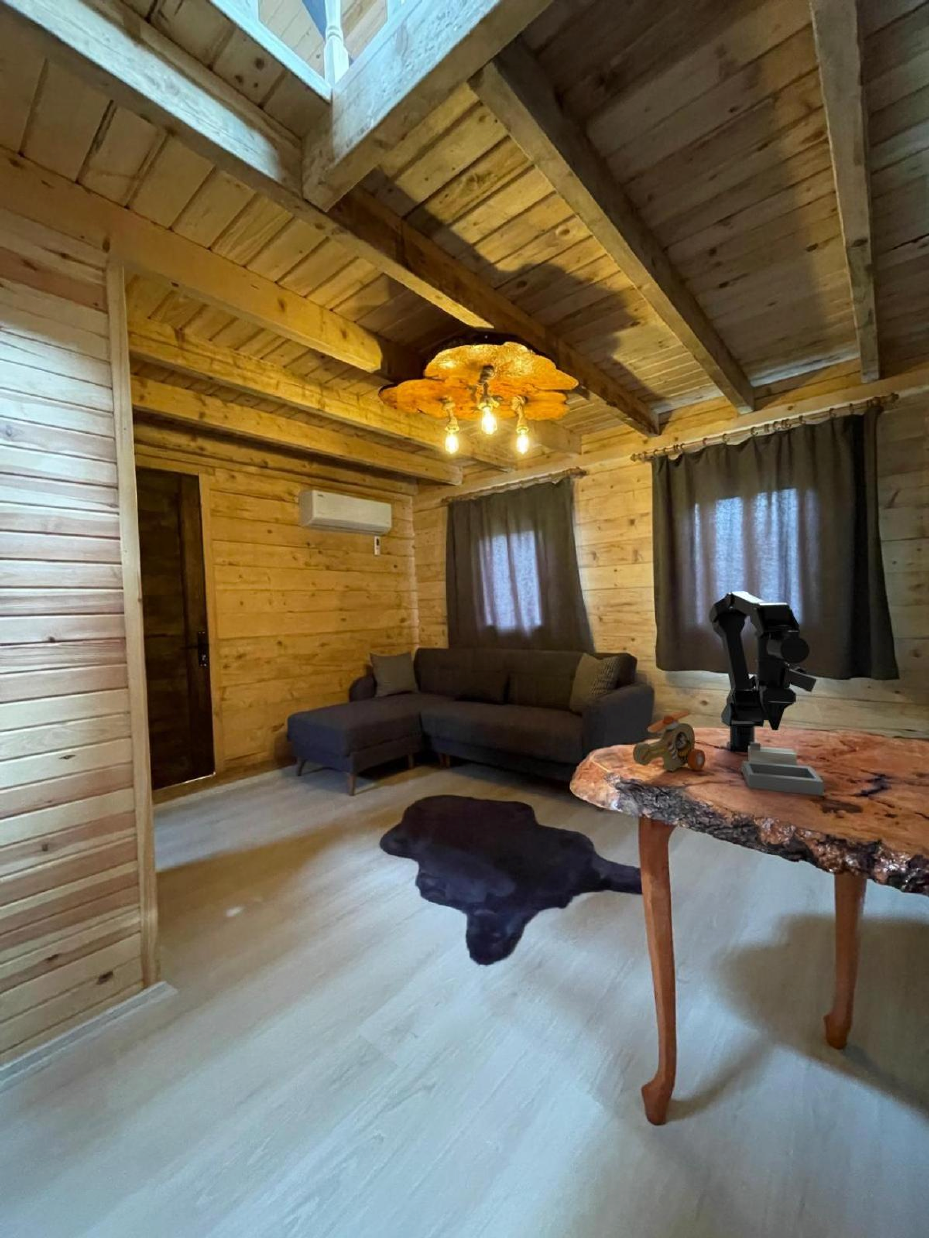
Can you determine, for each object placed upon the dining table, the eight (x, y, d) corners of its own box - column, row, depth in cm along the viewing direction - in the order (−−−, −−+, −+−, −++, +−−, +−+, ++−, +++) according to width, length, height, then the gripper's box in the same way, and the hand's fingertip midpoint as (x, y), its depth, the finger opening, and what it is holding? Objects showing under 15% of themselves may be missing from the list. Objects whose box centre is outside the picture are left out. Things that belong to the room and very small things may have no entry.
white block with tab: (748, 764, 120) (748, 740, 119) (792, 768, 116) (792, 743, 116) (750, 770, 116) (750, 744, 116) (796, 774, 112) (796, 748, 112)
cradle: (742, 772, 114) (742, 760, 113) (810, 779, 109) (810, 766, 109) (749, 787, 105) (749, 774, 105) (823, 795, 100) (823, 781, 100)
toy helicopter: (708, 767, 117) (708, 709, 117) (652, 788, 106) (652, 723, 106) (677, 758, 124) (676, 703, 124) (621, 777, 113) (620, 716, 112)
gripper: (825, 664, 103) (824, 739, 104) (802, 653, 121) (801, 717, 121) (763, 662, 107) (762, 734, 108) (749, 652, 125) (749, 714, 125)
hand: (770, 725), depth 116 cm, fingers open, 9 cm apart
